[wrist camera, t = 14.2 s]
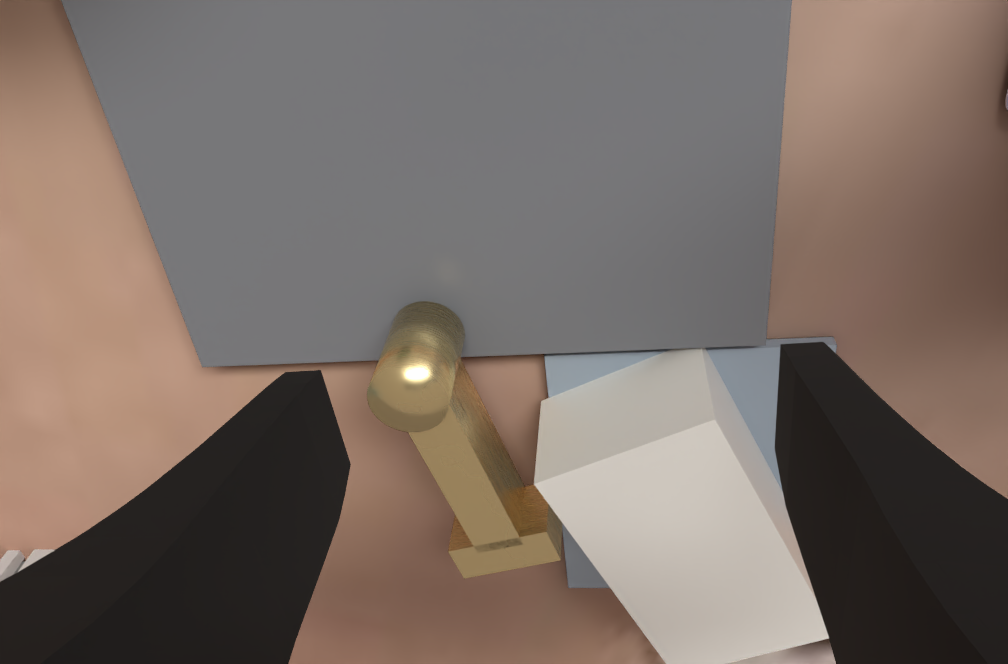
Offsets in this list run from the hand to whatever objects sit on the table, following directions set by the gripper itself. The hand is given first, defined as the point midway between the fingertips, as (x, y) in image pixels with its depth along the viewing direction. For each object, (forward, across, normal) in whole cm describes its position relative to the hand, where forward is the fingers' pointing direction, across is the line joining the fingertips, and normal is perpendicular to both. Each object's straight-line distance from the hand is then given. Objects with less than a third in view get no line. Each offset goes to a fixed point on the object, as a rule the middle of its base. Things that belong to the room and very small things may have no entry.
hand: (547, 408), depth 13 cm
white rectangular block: (+9, -3, +10) cm, 14 cm away
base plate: (+9, +3, -2) cm, 10 cm away
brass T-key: (+8, +3, +7) cm, 11 cm away
